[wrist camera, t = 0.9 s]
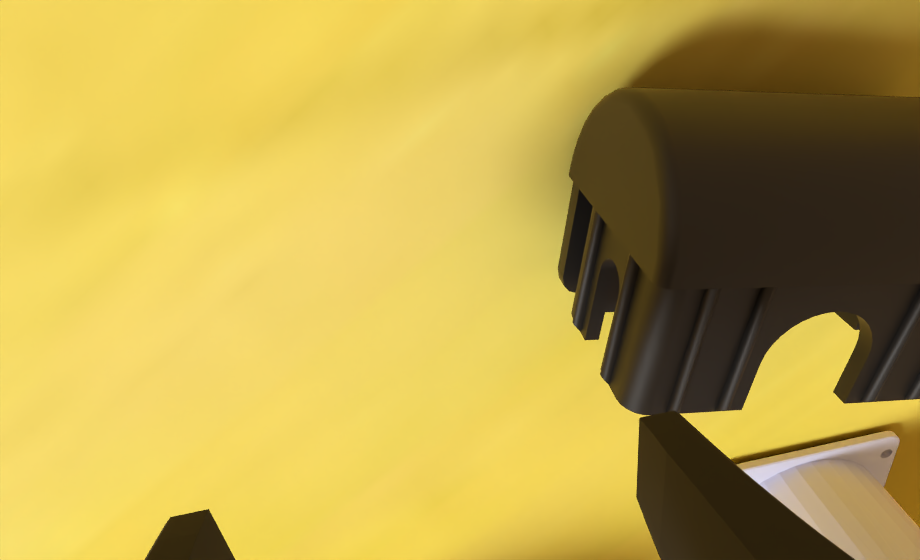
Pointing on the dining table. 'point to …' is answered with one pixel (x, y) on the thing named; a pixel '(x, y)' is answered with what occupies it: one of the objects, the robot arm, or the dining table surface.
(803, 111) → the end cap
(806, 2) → the dining table surface
